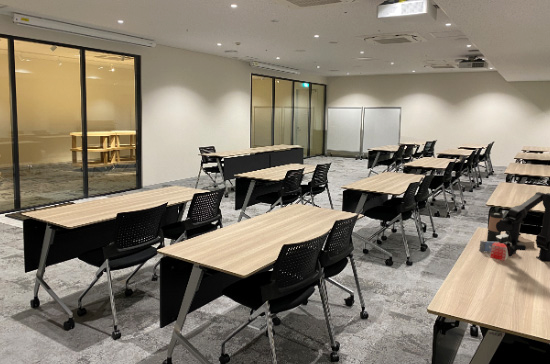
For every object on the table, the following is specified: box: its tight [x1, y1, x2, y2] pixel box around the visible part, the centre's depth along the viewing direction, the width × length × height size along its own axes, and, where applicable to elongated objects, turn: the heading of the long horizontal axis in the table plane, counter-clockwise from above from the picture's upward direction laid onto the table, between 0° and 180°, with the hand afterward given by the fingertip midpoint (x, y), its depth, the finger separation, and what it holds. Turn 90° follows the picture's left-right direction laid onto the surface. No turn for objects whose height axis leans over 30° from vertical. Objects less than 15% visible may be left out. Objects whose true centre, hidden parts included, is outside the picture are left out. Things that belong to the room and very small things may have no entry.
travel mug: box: [486, 211, 504, 242], centre depth 276 cm, size 8×8×20 cm
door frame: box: [478, 240, 518, 254], centre depth 260 cm, size 2×21×6 cm, turn 88°
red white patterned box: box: [489, 242, 509, 262], centre depth 251 cm, size 8×8×8 cm
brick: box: [517, 236, 535, 249], centre depth 277 cm, size 17×8×5 cm, turn 19°
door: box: [484, 240, 495, 253], centre depth 259 cm, size 3×16×6 cm, turn 89°
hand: (509, 256), depth 242 cm, fingers closed
